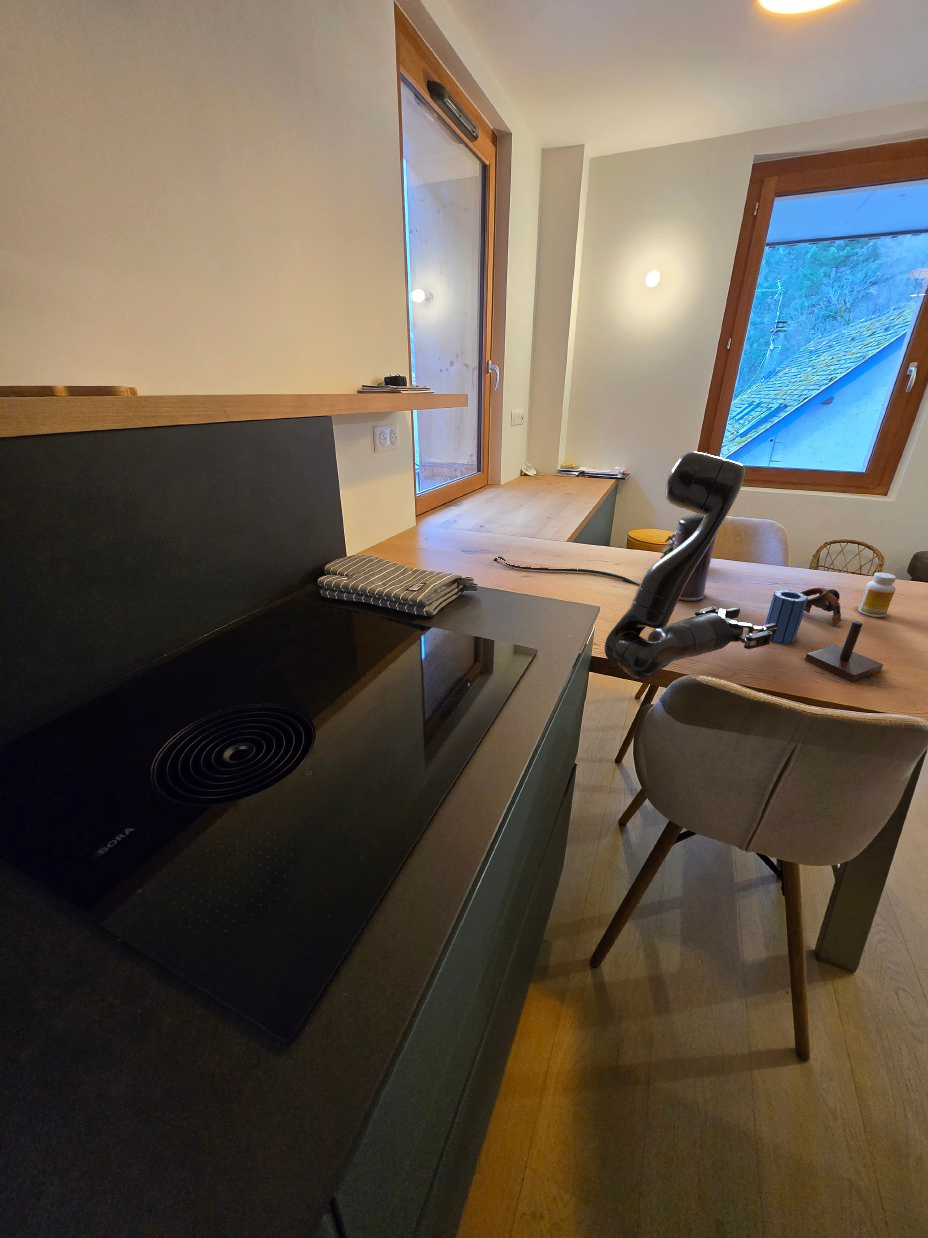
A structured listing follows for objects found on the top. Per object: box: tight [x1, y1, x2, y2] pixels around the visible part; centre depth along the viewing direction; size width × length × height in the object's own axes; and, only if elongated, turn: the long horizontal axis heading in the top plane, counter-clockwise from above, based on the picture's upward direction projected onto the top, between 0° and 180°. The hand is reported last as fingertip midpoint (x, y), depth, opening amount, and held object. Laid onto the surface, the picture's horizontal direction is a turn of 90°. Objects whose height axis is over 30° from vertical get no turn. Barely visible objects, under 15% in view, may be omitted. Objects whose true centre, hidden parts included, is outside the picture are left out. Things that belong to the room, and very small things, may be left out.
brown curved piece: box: [799, 587, 842, 627], centre depth 117 cm, size 12×10×8 cm
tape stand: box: [804, 620, 884, 682], centre depth 95 cm, size 9×9×10 cm
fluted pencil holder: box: [764, 589, 809, 644], centre depth 106 cm, size 6×6×10 cm
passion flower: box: [659, 533, 676, 560], centre depth 151 cm, size 11×11×12 cm
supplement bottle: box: [857, 572, 897, 618], centre depth 117 cm, size 5×5×10 cm
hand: (755, 619), depth 103 cm, fingers open, 8 cm apart
